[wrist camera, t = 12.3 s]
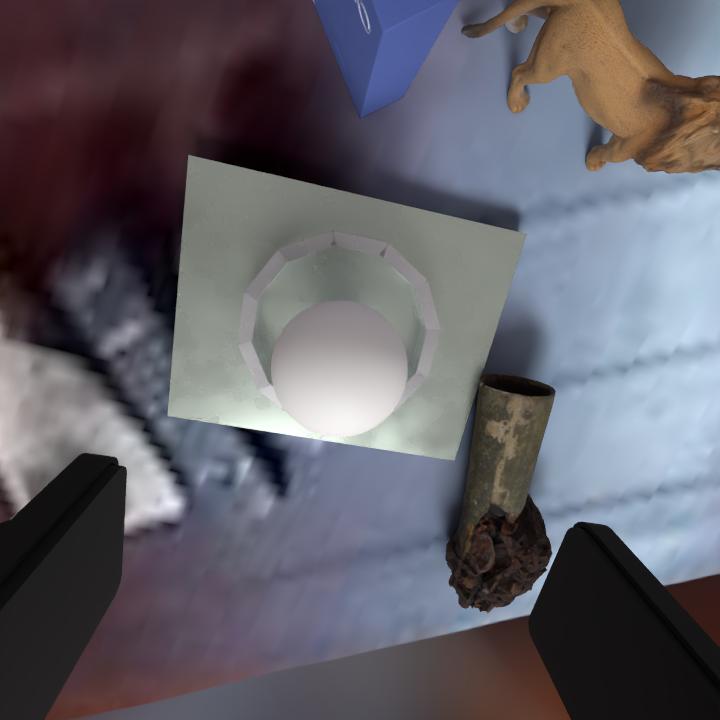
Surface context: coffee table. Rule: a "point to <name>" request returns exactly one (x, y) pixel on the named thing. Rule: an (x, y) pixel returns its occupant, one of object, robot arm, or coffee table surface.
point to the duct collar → (331, 299)
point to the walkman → (381, 44)
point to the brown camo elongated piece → (501, 496)
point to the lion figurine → (616, 85)
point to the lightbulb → (339, 368)
